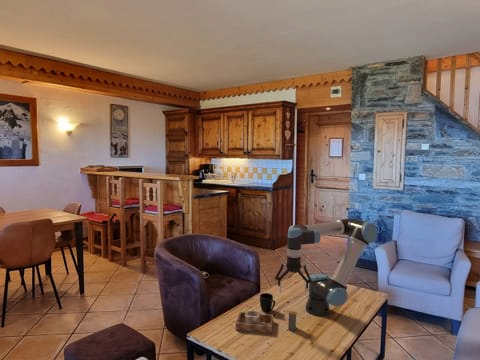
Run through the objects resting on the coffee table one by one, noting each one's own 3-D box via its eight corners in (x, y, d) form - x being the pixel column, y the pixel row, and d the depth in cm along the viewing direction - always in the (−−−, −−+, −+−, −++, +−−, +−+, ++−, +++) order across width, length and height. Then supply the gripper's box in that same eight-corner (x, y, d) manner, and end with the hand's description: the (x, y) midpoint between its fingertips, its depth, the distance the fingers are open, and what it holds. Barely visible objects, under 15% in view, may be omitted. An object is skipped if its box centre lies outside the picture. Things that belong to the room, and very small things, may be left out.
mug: (268, 317, 197) (269, 301, 196) (256, 309, 207) (257, 294, 206) (279, 313, 201) (279, 298, 201) (267, 306, 211) (267, 291, 211)
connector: (295, 327, 186) (296, 308, 185) (295, 330, 182) (296, 311, 181) (288, 326, 186) (289, 307, 186) (288, 330, 182) (288, 311, 182)
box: (273, 321, 192) (273, 309, 191) (271, 334, 178) (271, 321, 177) (239, 318, 195) (239, 306, 194) (235, 330, 181) (235, 317, 181)
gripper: (316, 255, 183) (315, 292, 184) (272, 252, 187) (271, 288, 189) (317, 259, 176) (315, 297, 177) (271, 256, 180) (270, 293, 181)
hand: (292, 292), depth 183 cm, fingers open, 13 cm apart
